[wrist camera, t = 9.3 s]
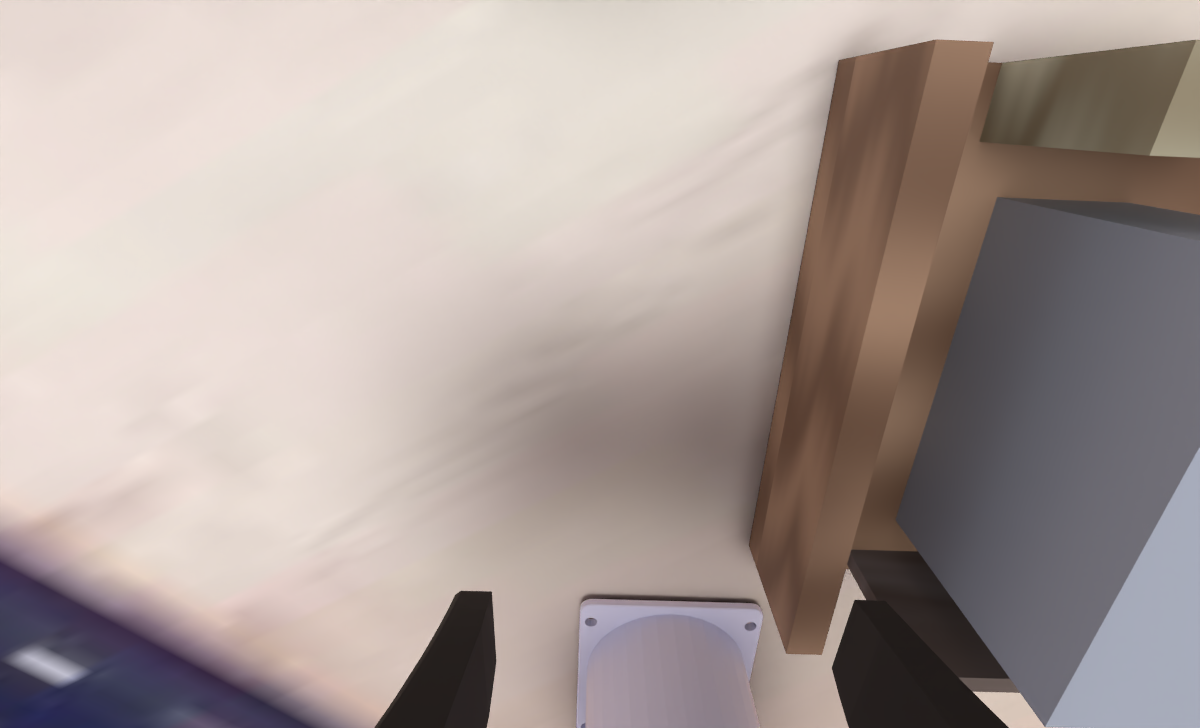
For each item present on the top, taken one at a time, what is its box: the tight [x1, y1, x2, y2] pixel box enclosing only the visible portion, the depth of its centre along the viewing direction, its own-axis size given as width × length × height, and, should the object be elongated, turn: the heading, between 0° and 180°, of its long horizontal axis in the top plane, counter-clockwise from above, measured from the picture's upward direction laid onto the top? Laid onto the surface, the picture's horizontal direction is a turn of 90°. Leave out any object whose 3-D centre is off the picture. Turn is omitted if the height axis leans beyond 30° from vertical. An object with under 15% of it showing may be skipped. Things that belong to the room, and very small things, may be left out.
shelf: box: [749, 40, 1200, 693], centre depth 17 cm, size 18×14×7 cm
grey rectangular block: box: [896, 197, 1200, 728], centre depth 16 cm, size 4×12×8 cm, turn 178°
